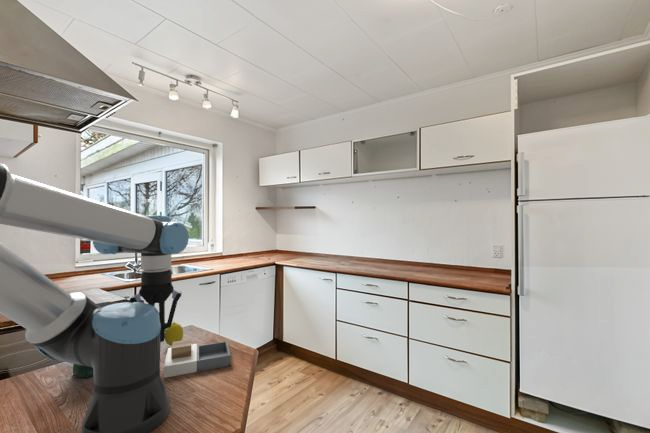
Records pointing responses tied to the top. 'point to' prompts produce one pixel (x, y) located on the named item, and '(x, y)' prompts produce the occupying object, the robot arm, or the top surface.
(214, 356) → the tray
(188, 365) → the board
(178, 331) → the lemon
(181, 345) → the brown wooden block
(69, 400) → the top surface
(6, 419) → the top surface
